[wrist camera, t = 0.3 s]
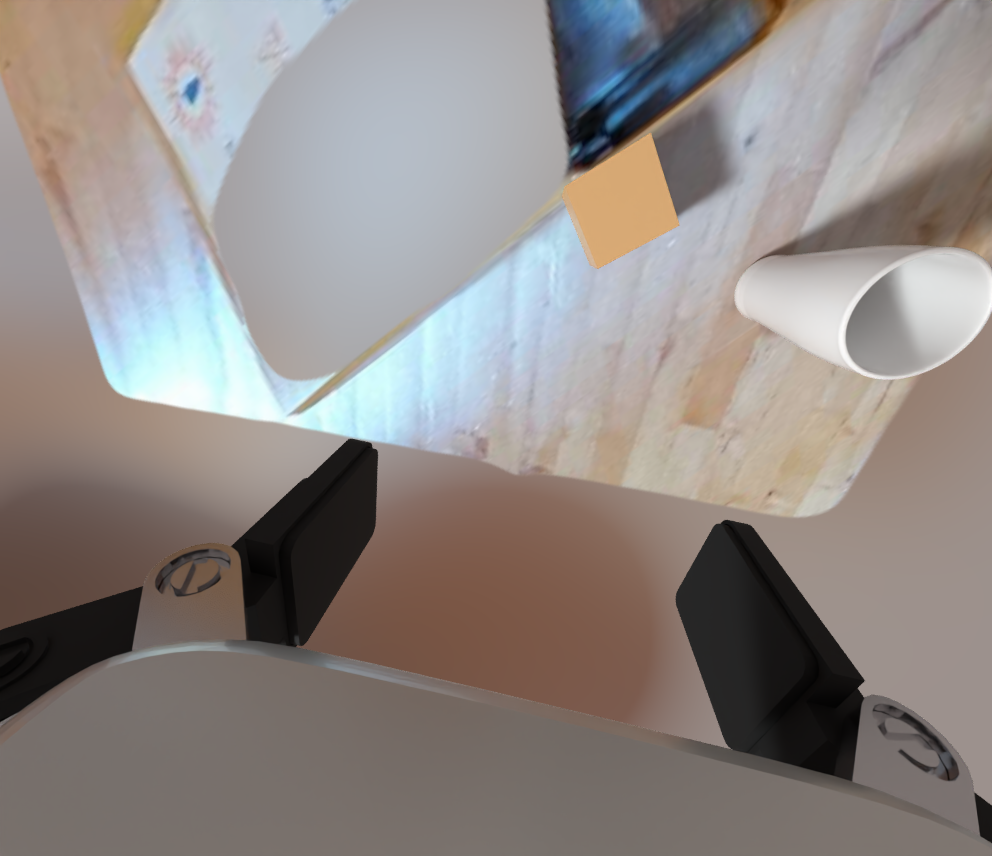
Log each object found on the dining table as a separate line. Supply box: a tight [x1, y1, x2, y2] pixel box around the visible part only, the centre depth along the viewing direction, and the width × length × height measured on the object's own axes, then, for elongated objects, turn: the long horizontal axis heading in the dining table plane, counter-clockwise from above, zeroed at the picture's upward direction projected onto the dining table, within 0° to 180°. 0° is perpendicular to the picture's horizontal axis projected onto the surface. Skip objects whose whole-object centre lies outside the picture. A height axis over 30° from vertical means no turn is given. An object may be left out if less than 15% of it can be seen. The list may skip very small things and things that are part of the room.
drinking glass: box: [734, 245, 992, 380], centre depth 26 cm, size 7×7×15 cm
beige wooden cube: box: [562, 133, 679, 269], centre depth 29 cm, size 6×6×6 cm
